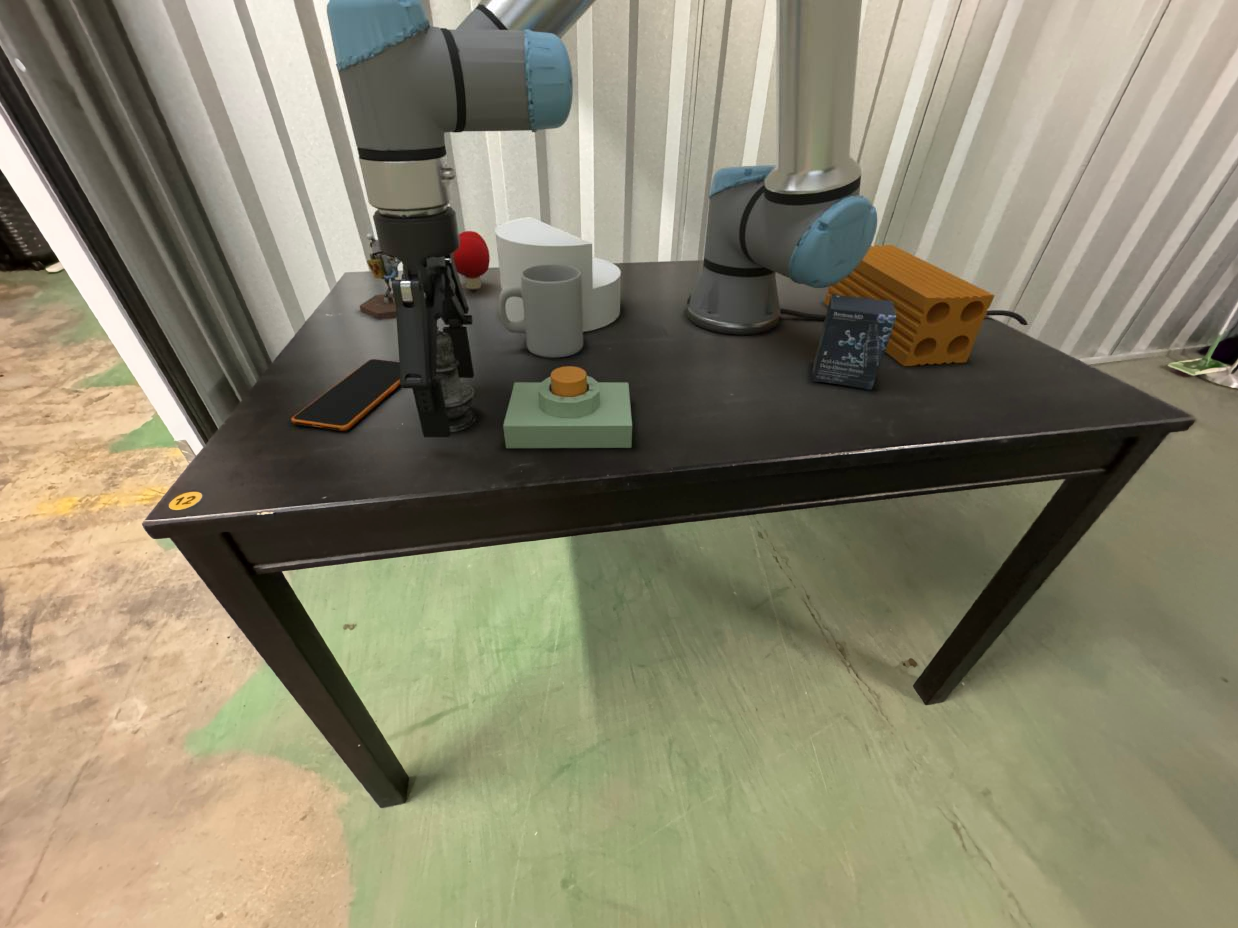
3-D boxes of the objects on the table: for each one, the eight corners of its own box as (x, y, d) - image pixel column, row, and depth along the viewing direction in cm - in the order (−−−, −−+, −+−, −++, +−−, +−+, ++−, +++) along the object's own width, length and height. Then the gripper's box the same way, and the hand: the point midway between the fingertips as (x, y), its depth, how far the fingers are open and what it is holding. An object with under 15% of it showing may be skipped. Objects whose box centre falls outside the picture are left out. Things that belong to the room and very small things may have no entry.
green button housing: (627, 403, 70) (628, 367, 67) (631, 448, 62) (632, 409, 59) (516, 403, 69) (512, 367, 66) (505, 448, 61) (500, 409, 58)
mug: (578, 333, 87) (576, 262, 81) (587, 355, 81) (586, 280, 74) (502, 338, 85) (493, 266, 79) (504, 362, 79) (495, 285, 72)
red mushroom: (487, 299, 99) (480, 241, 93) (449, 299, 99) (439, 241, 93) (497, 283, 106) (491, 228, 100) (461, 282, 106) (453, 227, 100)
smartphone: (290, 424, 64) (287, 418, 64) (372, 363, 77) (370, 358, 77) (347, 433, 63) (345, 426, 62) (421, 369, 76) (419, 363, 75)
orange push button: (587, 382, 64) (586, 366, 63) (586, 399, 61) (586, 382, 60) (552, 382, 64) (551, 366, 63) (550, 399, 61) (549, 382, 60)
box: (811, 382, 75) (830, 307, 69) (812, 365, 79) (830, 292, 73) (872, 391, 73) (897, 315, 67) (870, 373, 77) (893, 299, 71)
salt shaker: (465, 436, 63) (448, 337, 56) (418, 430, 64) (395, 332, 57) (486, 410, 68) (471, 316, 61) (441, 405, 69) (422, 312, 61)
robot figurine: (436, 308, 95) (423, 235, 88) (389, 323, 89) (370, 247, 82) (399, 293, 101) (384, 224, 94) (352, 307, 95) (332, 234, 88)
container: (643, 317, 93) (646, 234, 85) (537, 343, 84) (530, 253, 76) (581, 284, 106) (580, 210, 98) (485, 304, 97) (474, 223, 89)
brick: (966, 362, 81) (994, 295, 75) (903, 366, 79) (927, 298, 74) (875, 301, 101) (892, 245, 95) (824, 303, 100) (838, 246, 94)
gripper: (418, 243, 42) (462, 466, 54) (477, 184, 62) (499, 357, 75) (318, 242, 42) (385, 466, 54) (410, 183, 62) (443, 357, 74)
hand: (451, 403), depth 64 cm, fingers open, 13 cm apart
